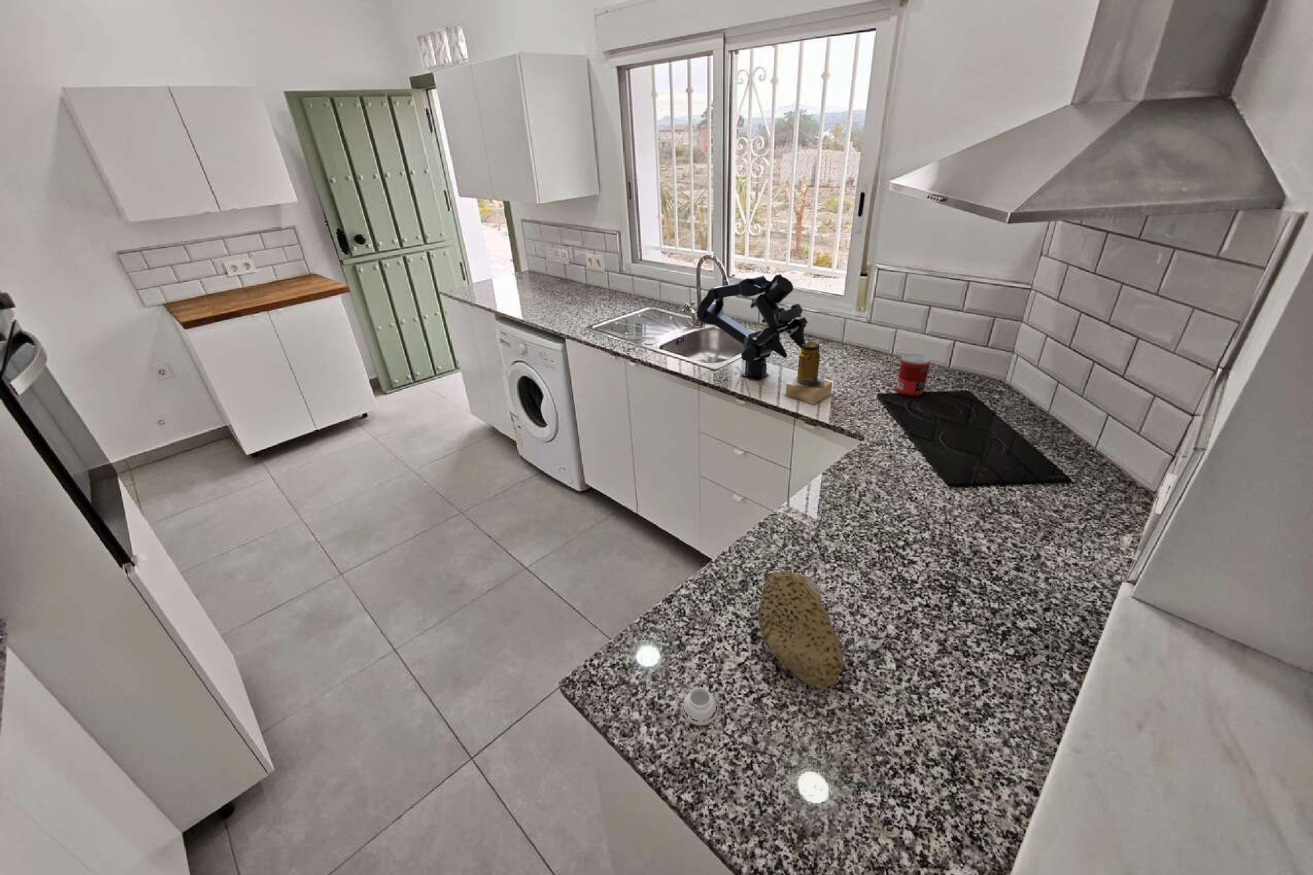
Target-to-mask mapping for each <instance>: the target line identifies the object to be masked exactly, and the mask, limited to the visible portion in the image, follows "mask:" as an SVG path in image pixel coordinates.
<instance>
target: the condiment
mask: <svg viewBox="0 0 1313 875" xmlns="http://www.w3.org/2000/svg"><path fill="white" fill-rule="evenodd" d="M820 358H821V354H820V344H818V343H816V342H805V343H804V344H802V346H801V348H800V352H799V355H798V365H797V366H798V367H797V376H796V377H795V379H796V386H816V387H824V380H825V378H824V377H819V370H820V360H821V359H820Z"/></svg>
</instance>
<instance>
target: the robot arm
mask: <svg viewBox="0 0 1313 875" xmlns="http://www.w3.org/2000/svg"><path fill="white" fill-rule="evenodd" d="M793 291H794V285H793V282H792V280H789V279H788V278H787V277H786V276H785V277H784V276H783V275H782V273H779V274H775V276H773V277H772V279H771V280H769V279H767V278H766V277H765V275H762V274H759V275H756V276H755V275H754V276H750V277H747V278H745V279H742V280H740V281H738V282H737V283H733V284H728V285H723V286H721V285H718V286H715V287H711V288H710V289H709V290H708V291H707V294H706V296H705V297H704V298H703V299H702V300H701V301H700V303H699V305H698V307H697V310H696V316H697V319H698V320H699V322H701V323H703V324H705V325H710V326H714V327H717V328H718V329H720V330H721V331H723V332H724V333H726V334H727V335H729V336H730V337H732V338H733V339H735V340H736V341H737V342H739V344H741V345H743V348H744V350H743V351H742V352H741V354H740V356H741V360H742V361H744V362H745V366H744V372H743V373H742V374H741V376H742V377H745V378H748V379H751V380H755V381H759V380H761V379H763V378H765V377H767V376H768V375H769V373H768V372H767V370H768V365H767V358H770V356H771V354H772V352H774V353H776V354H778V355H779V356H781V357H782V358H784V359H786V358H787V357H788V354H787V352H786V349H785V348H784V346H783V343H782V342H781V338H780V336H781V334H784V333H786V332H787V334H789V338H790V339H791V340H792V341H793V342H794V343H795V344H796V345H797V347H799V349H801V346H802V344H804V343H806V339H805V335H804V331H805V328H806V327H807V324H809V322H808V320H807V318H806V317H805V316H802V314H803V307H802V306H801V305H800V304H799V303H795V304H792V305H791V306H790V309H787V310H786V309H785V308H784V307H780V306H779V305H778V304H780V303H782V302H783V301H784V300H785V299H786V298H787V297H788V296H789V295H790V294H791V293H792V292H793ZM736 296H742V297H748V298H751V297H755V296H757V297H756V298H752V299H751V303H750V309H754V308H757V310H758V312H759V314H760V315H761V317H762V319H761V323H762V324H765V323H766V325H767V327H766V328H764V329H762V330H757V331H754V332H752V331H751V330H749V329H747V328H746V327H744V326H743V325H742V324H740V323H738V322H737V321H735V320H734V319H733V318H731V317H729V316H728V315H727V314H726V313H725V311H724V306H725V304H724V299H725V298H728V297H736Z"/></svg>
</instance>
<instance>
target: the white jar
mask: <svg viewBox="0 0 1313 875" xmlns="http://www.w3.org/2000/svg"><path fill="white" fill-rule="evenodd" d="M684 699H685V700H684ZM684 699H683V701H682V705H681V709H682V714H683V717H684V718H685V719H686V721H688V723H691V724H692V725H695V726H707V725H709V724H711V723H713V721H715V719H716V718H717V716H718V713H719V705H718V704H717V705H716V702H717V703H718V701H717V700H716V698H715V697H714V695H713V694H712V693H711V692H710V691H709V690H708V689H707V688H705V687H699V686H698V687H695V688H693V689H692V690H691V691H690V692H688V694H687V695H686V696H685V697H684ZM715 700H716V701H715ZM683 702H684V703H683ZM683 706H684V710H685V712H686V713H687V714H688V715H689V716H691V718H692V719H695V720H699V721H701V720H704V719H709V717H711V716H712V715H713V713H714V712H715V710H716V706H717V712H716V714H715V715H714V717H713V718H712V719H710V720H708V721H707V722H696V721H693V720H691V719H690V718H688V717H687V716H686V714H685V712H684V710H683Z"/></svg>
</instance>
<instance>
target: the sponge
mask: <svg viewBox="0 0 1313 875" xmlns="http://www.w3.org/2000/svg"><path fill="white" fill-rule="evenodd" d="M764 583H765V584H764V585H763V588H762V590H761V594H760V603H759V609H758V613H757V614H758V616H757V620H758V625H759V627H760V630H761V636H762V639H763V642H764V643H765V644H766V646H768V648H769V650H770V652H771V654H772V655H773V656H774V657H775V659H776V660H777V661H778V662H779V664H781V665H782V666H783V667H784V668H785V669H786V670H788V671H790V672H791V673H792V674H793V675H794V676H796V677H797V678H798V679H799V680H801V681H802V682H803V683H804V684H806V685H809V686H812V687H813V688H815V689H826V688H828V687H831V686H834V685H836V683H838V678H839V675H840V674H841V673H842V672H841V671H842V670H843V669H844V666H845V662H844V657H843V651H842V649H841V648H842V647H841V642H840V640H839V639H838V636H837V634H836V633H835V631H834V629H833V624H832V623H831V618H830V616H829V615H828V613H827V611H826V609H825V608H824V607H823V598H822V595H821V593H820V586H819V584H818V583H817V582H815V581H814V580H813V579H812V578H810V577H808V576H805V575H802V574H800V573H794V572H792V571H790V570H780V571H773V572H772V573H770V575H768V577H767V578H766V580H765V582H764Z"/></svg>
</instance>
